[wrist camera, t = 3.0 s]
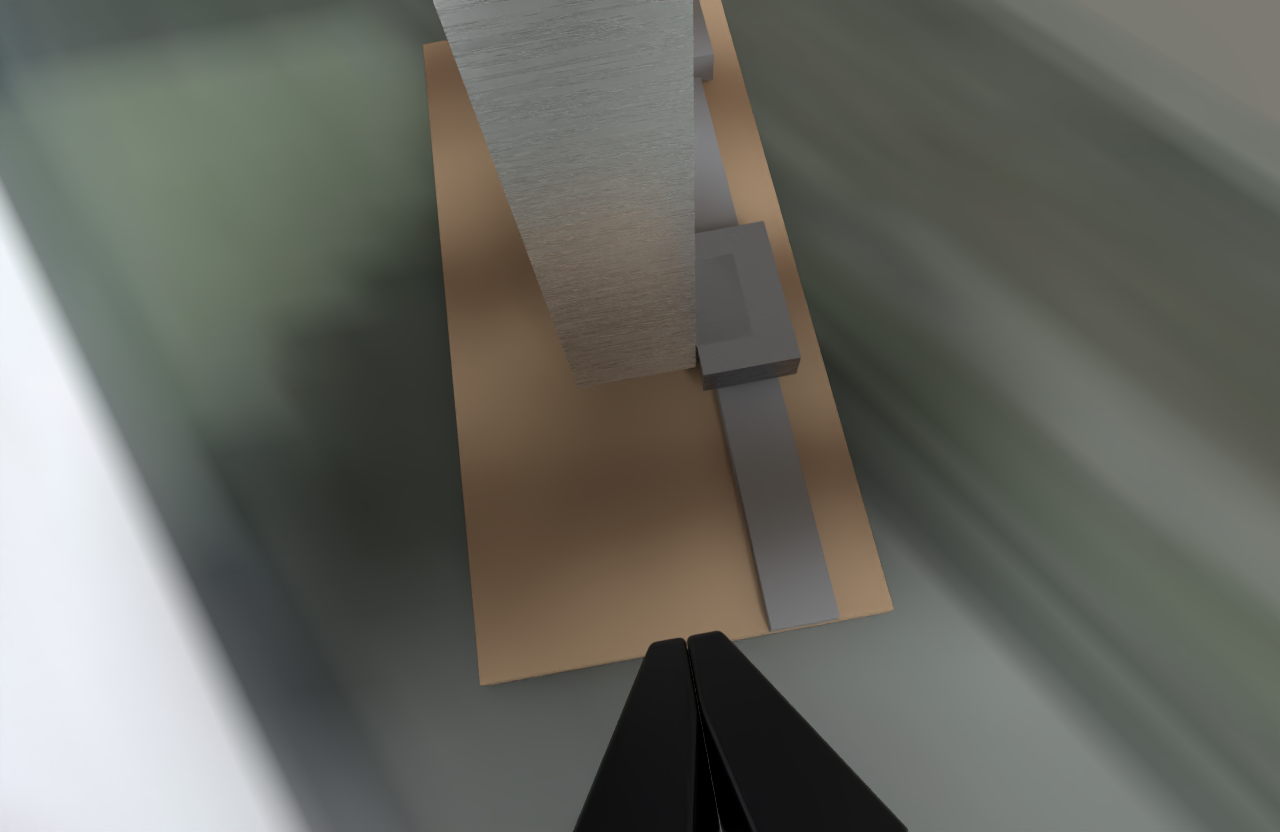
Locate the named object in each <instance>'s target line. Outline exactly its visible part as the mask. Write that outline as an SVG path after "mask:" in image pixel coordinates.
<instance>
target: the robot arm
mask: <svg viewBox="0 0 1280 832" xmlns="http://www.w3.org/2000/svg"><path fill="white" fill-rule="evenodd" d="M687 646H688V649H687ZM688 652H689V654H688ZM689 657H690V659H689ZM690 663H691V665H690ZM691 668H692V670H691ZM692 674H693V676H692ZM693 679H694V681H693ZM694 684H695V686H694ZM695 690H696V692H695ZM696 695H697V697H696ZM697 701H698V703H697ZM698 706H699V708H698ZM699 712H700V713H699ZM700 717H701V719H700ZM701 722H702V724H701ZM702 728H703V730H702ZM703 733H704V735H703ZM704 739H705V741H704ZM705 744H706V746H705ZM706 750H707V752H706ZM707 755H708V757H707ZM708 760H709V763H708ZM709 766H710V768H709ZM710 771H711V773H710ZM711 777H712V779H711ZM712 782H713V784H712ZM713 787H714V790H713ZM714 793H715V795H714ZM715 798H716V801H715ZM716 804H717V806H716ZM717 809H718V812H717ZM718 814H719V817H718ZM719 819H720V824H721V828H722V832H908V829H907V827H906V826H905V825H904V824H903V823H902V822H901V821H900V820H899V819H898V818H897V817H896V816H895V815H894V813H893V812H892V811H891V810H890V809H889V808H888V807H887V806H886V805H885V804H884V803H883V802H882V801H881V800H880V799H879V798H878V796H877V795H876V794H875V793H874V792H873V791H872V790H871V789H870V788H869V787H868V786H867V785H866V784H865V783H864V782H863V781H862V780H861V778H860V777H859V776H858V775H857V774H856V773H855V772H854V771H853V770H852V769H851V768H850V767H849V766H848V765H847V764H846V763H845V761H844V760H843V759H842V758H841V757H840V756H839V755H838V754H837V753H836V752H835V751H834V750H833V749H832V748H831V747H830V746H829V744H828V743H827V742H826V741H825V740H824V739H823V738H822V737H821V736H820V735H819V734H818V733H817V732H816V731H815V730H814V729H813V727H812V726H811V725H810V724H809V723H808V722H807V721H806V720H805V719H804V718H803V717H802V716H801V715H800V714H799V713H798V712H797V710H796V709H795V708H794V707H793V706H792V705H791V704H790V703H789V702H788V701H787V700H786V699H785V698H784V697H783V696H782V695H781V693H780V692H779V691H778V690H777V689H776V688H775V687H774V686H773V685H772V684H771V683H770V682H769V681H768V680H767V679H766V678H765V676H764V675H763V674H762V673H761V672H760V671H759V670H758V669H757V668H756V667H755V666H754V665H753V664H752V663H751V662H750V661H749V660H748V658H747V657H746V656H745V655H744V654H743V653H742V652H741V651H740V650H739V649H738V648H737V647H736V646H735V645H734V644H733V643H732V641H731V640H730V639H729V638H728V637H727V636H726V635H725V634H724V633H723V632H721V631H711V632H706V633H700V634H695V635H691V636H689V637H688V639H687V643H686V641H685V640H684V639H683V638H681V637H678V638H673V639H667V640H662V641H656V642H653V643H652V644H650V646H649V648H648V650H647V652H646V654H645V657H644V659H643V662H642V664H641V667H640V669H639V671H638V674H637V676H636V679H635V681H634V684H633V686H632V689H631V691H630V693H629V696H628V698H627V701H626V703H625V706H624V708H623V710H622V713H621V715H620V718H619V720H618V723H617V725H616V728H615V730H614V732H613V735H612V737H611V740H610V742H609V745H608V747H607V749H606V752H605V754H604V757H603V759H602V762H601V764H600V767H599V769H598V771H597V774H596V776H595V779H594V781H593V784H592V786H591V788H590V791H589V793H588V796H587V798H586V801H585V803H584V806H583V808H582V810H581V813H580V815H579V818H578V820H577V823H576V825H575V827H574V830H573V832H721V830H720V824H719Z"/></svg>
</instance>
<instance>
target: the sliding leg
mask: <svg viewBox="0 0 1280 832" xmlns="http://www.w3.org/2000/svg"><path fill="white" fill-rule="evenodd" d="M433 2H434V5H435V7H436V10H437V13H438V15H439V18H440V21H441V23H442V26H443V29H444V31H445V34H446V37H447V39H448V42H449V45H450V47H451V50H452V53H453V55H454V58H455V61H456V63H457V66H458V69H459V71H460V74H461V77H462V79H463V82H464V85H465V87H466V90H467V93H468V95H469V98H470V101H471V104H472V106H473V109H474V112H475V114H476V117H477V120H478V122H479V125H480V128H481V130H482V133H483V136H484V138H485V141H486V144H487V146H488V149H489V152H490V154H491V157H492V160H493V162H494V165H495V168H496V170H497V173H498V176H499V178H500V181H501V184H502V186H503V189H504V192H505V194H506V197H507V200H508V202H509V205H510V208H511V211H512V213H513V216H514V219H515V221H516V224H517V227H518V229H519V232H520V235H521V237H522V240H523V243H524V245H525V248H526V251H527V253H528V256H529V259H530V261H531V264H532V267H533V269H534V272H535V275H536V277H537V280H538V283H539V285H540V288H541V291H542V293H543V296H544V299H545V301H546V304H547V307H548V309H549V312H550V315H551V317H552V320H553V323H554V326H555V328H556V331H557V334H558V336H559V339H560V342H561V344H562V347H563V350H564V352H565V355H566V358H567V360H568V363H569V366H570V368H571V371H572V374H573V376H574V379H575V382H576V384H577V387H578V389H579V388H585V387H590V386H596V385H601V384H607V383H612V382H617V381H623V380H628V379H634V378H639V377H644V376H650V375H655V374H661V373H666V372H671V371H677V370H682V369H688V368H693V367H696V363H697V365H698V369H699V374H700V378H701V383H702V388H703V391H707V390H713V389H718V388H723V387H729V386H734V385H740V384H745V383H750V382H756V381H761V380H767V379H772V378H777V377H783V376H788V375H794V374H796V373H797V370H798V366H799V363H800V359H801V355H800V351H799V348H798V344H797V340H796V337H795V333H794V329H793V326H792V322H791V318H790V315H789V311H788V307H787V304H786V300H785V296H784V293H783V289H782V285H781V282H780V278H779V274H778V271H777V267H776V263H775V260H774V256H773V252H772V249H771V245H770V241H769V238H768V234H767V230H766V227H765V223H764V221H760V222H754V223H749V224H744V225H738V226H733V227H727V228H722V229H717V230H711V231H706V232H701V233H695V214H694V70H693V0H433Z"/></svg>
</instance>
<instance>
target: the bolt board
mask: <svg viewBox="0 0 1280 832" xmlns="http://www.w3.org/2000/svg"><path fill="white" fill-rule="evenodd" d="M423 52H424V63H425V74H426V85H427V97H428V108H429V119H430V130H431V141H432V153H433V164H434V175H435V186H436V197H437V208H438V220H439V231H440V242H441V253H442V264H443V276H444V287H445V298H446V309H447V320H448V332H449V343H450V354H451V365H452V376H453V388H454V399H455V410H456V421H457V432H458V444H459V455H460V466H461V477H462V488H463V500H464V511H465V522H466V533H467V544H468V556H469V567H470V578H471V589H472V600H473V612H474V623H475V634H476V645H477V656H478V668H479V679H480V685H482V686H489V685H495V684H500V683H505V682H511V681H516V680H522V679H527V678H533V677H538V676H544V675H549V674H555V673H560V672H565V671H571V670H576V669H582V668H587V667H593V666H598V665H604V664H609V663H615V662H620V661H625V660H631V659H636V658H642V657H645V654H646V652H647V650H648V648H649V646H650V644H652V643H653V642H656V641H662V640H667V639H673V638H678V637H681V638H683V639H684V640H685V641H686V643H687V639H688V637H689V636H691V635H695V634H700V633H706V632H711V631H721V632H723V633H724V634H725V635H726V636H727V637H728V638H729V639H730V640H731V641H735V640H740V639H745V638H751V637H756V636H762V635H767V634H773V633H778V632H784V631H789V630H795V629H800V628H805V627H811V626H816V625H822V624H827V623H833V622H838V621H844V620H849V619H855V618H860V617H865V616H871V615H876V614H882V613H887V612H890V611H892V610H894V608H893V605H892V601H891V598H890V594H889V591H888V587H887V584H886V580H885V577H884V573H883V570H882V566H881V563H880V559H879V556H878V552H877V549H876V545H875V542H874V538H873V535H872V531H871V527H870V524H869V520H868V517H867V513H866V510H865V506H864V503H863V499H862V496H861V492H860V489H859V485H858V482H857V478H856V475H855V471H854V468H853V464H852V461H851V457H850V454H849V450H848V447H847V443H846V439H845V436H844V432H843V429H842V425H841V422H840V418H839V415H838V411H837V408H836V404H835V401H834V397H833V394H832V390H831V387H830V383H829V380H828V376H827V373H826V369H825V366H824V362H823V359H822V355H821V351H820V348H819V344H818V341H817V337H816V334H815V330H814V327H813V323H812V320H811V316H810V313H809V309H808V306H807V302H806V299H805V295H804V292H803V288H802V285H801V281H800V278H799V274H798V271H797V267H796V264H795V260H794V256H793V253H792V249H791V246H790V242H789V239H788V235H787V232H786V228H785V225H784V221H783V218H782V214H781V211H780V207H779V204H778V200H777V197H776V193H775V190H774V186H773V183H772V179H771V176H770V172H769V168H768V165H767V161H766V158H765V154H764V151H763V147H762V144H761V140H760V137H759V133H758V130H757V126H756V123H755V119H754V116H753V112H752V109H751V105H750V102H749V98H748V95H747V91H746V88H745V84H744V80H743V77H742V73H741V70H740V66H739V63H738V59H737V56H736V52H735V49H734V45H733V42H732V38H731V35H730V31H729V28H728V24H727V21H726V17H725V14H724V10H723V7H722V3H721V0H693V70H694V214H695V233H701V232H706V231H711V230H717V229H722V228H727V227H733V226H738V225H744V224H749V223H754V222H760V221H764V223H765V227H766V230H767V234H768V238H769V241H770V245H771V249H772V252H773V256H774V260H775V263H776V267H777V271H778V274H779V278H780V282H781V285H782V289H783V293H784V296H785V300H786V304H787V307H788V311H789V315H790V318H791V322H792V326H793V329H794V333H795V337H796V340H797V344H798V348H799V351H800V355H801V359H800V363H799V366H798V370H797V373H796V374H794V375H788V376H783V377H777V378H772V379H767V380H761V381H756V382H750V383H745V384H740V385H734V386H729V387H723V388H718V389H713V390H707V391H703V388H702V383H701V378H700V374H699V369H698V365H697V363H696V367H693V368H688V369H682V370H677V371H671V372H666V373H661V374H655V375H650V376H644V377H639V378H634V379H628V380H623V381H617V382H612V383H607V384H601V385H596V386H590V387H585V388H579V389H578V387H577V384H576V382H575V379H574V376H573V374H572V371H571V368H570V366H569V363H568V360H567V358H566V355H565V352H564V350H563V347H562V344H561V342H560V339H559V336H558V334H557V331H556V328H555V326H554V323H553V320H552V317H551V315H550V312H549V309H548V307H547V304H546V301H545V299H544V296H543V293H542V291H541V288H540V285H539V283H538V280H537V277H536V275H535V272H534V269H533V267H532V264H531V261H530V259H529V256H528V253H527V251H526V248H525V245H524V243H523V240H522V237H521V235H520V232H519V229H518V227H517V224H516V221H515V219H514V216H513V213H512V211H511V208H510V205H509V202H508V200H507V197H506V194H505V192H504V189H503V186H502V184H501V181H500V178H499V176H498V173H497V170H496V168H495V165H494V162H493V160H492V157H491V154H490V152H489V149H488V146H487V144H486V141H485V138H484V136H483V133H482V130H481V128H480V125H479V122H478V120H477V117H476V114H475V112H474V109H473V106H472V104H471V101H470V98H469V95H468V93H467V90H466V87H465V85H464V82H463V79H462V77H461V74H460V71H459V69H458V66H457V63H456V61H455V58H454V55H453V53H452V50H451V47H450V45H449V42H448V40H445V41H439V42H434V43H429V44H423ZM687 649H688V646H687Z"/></svg>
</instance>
